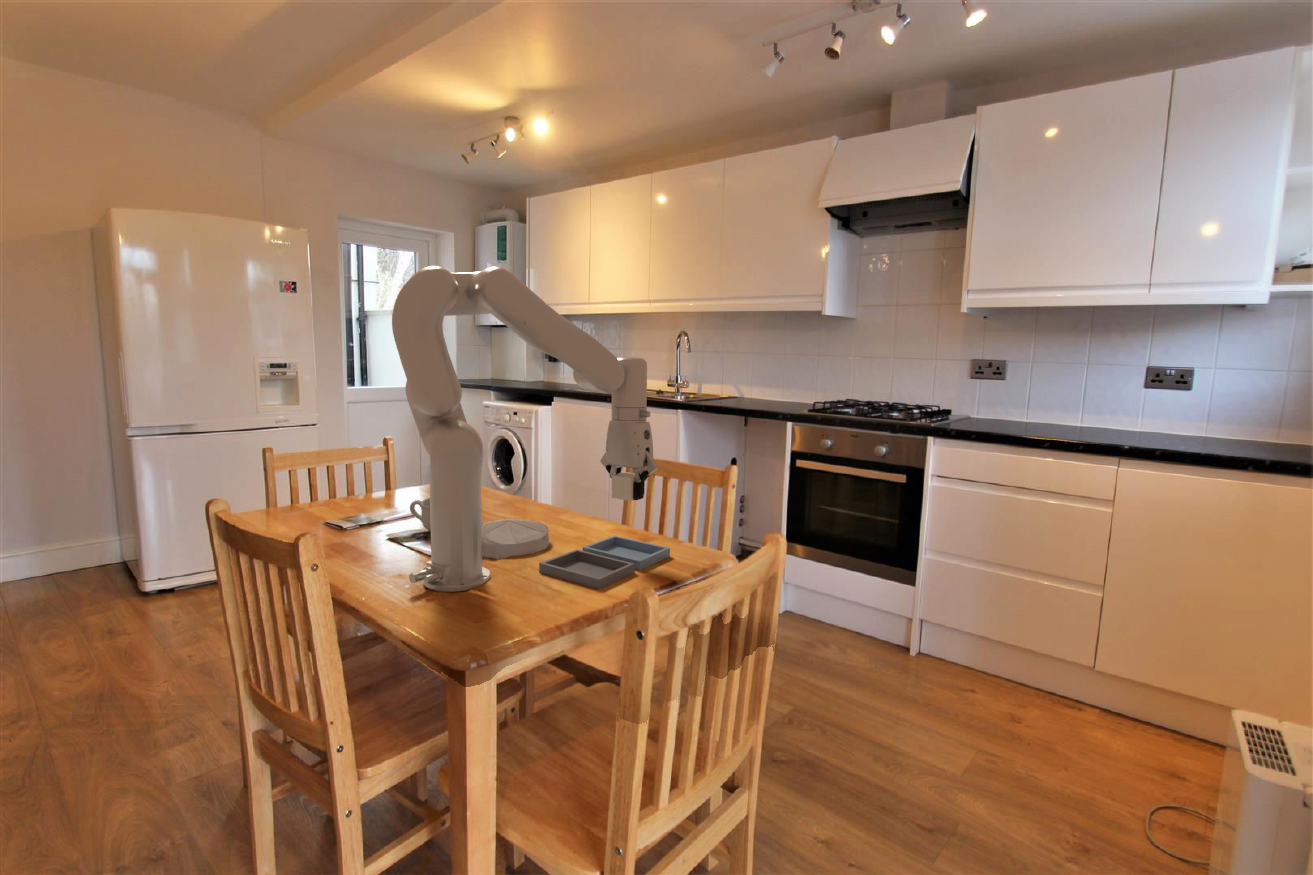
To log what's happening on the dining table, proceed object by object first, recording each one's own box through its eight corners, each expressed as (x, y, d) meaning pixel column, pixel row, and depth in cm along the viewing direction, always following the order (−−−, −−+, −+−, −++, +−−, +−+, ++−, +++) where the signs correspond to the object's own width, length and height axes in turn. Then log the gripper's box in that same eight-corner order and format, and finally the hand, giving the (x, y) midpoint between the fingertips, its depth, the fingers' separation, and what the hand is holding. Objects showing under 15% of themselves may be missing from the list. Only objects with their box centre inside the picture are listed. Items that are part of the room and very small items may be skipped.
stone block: (630, 501, 135) (630, 478, 135) (611, 497, 138) (612, 475, 137) (643, 496, 139) (644, 474, 139) (625, 493, 142) (625, 471, 141)
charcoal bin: (598, 592, 120) (599, 579, 120) (539, 574, 129) (539, 562, 128) (634, 575, 130) (634, 563, 129) (576, 560, 138) (576, 549, 138)
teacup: (475, 528, 162) (474, 497, 161) (450, 539, 151) (449, 507, 150) (427, 522, 165) (427, 493, 164) (400, 533, 155) (399, 502, 154)
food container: (561, 538, 156) (561, 511, 156) (538, 562, 137) (538, 532, 136) (483, 535, 158) (483, 508, 158) (449, 558, 139) (449, 528, 138)
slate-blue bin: (639, 572, 131) (640, 561, 131) (582, 558, 140) (582, 547, 140) (669, 558, 141) (670, 547, 141) (614, 545, 149) (614, 535, 149)
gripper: (671, 416, 135) (669, 499, 137) (608, 411, 144) (607, 489, 146) (651, 419, 128) (650, 506, 131) (587, 413, 138) (586, 494, 140)
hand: (627, 496), depth 139 cm, fingers closed on stone block, 5 cm apart
